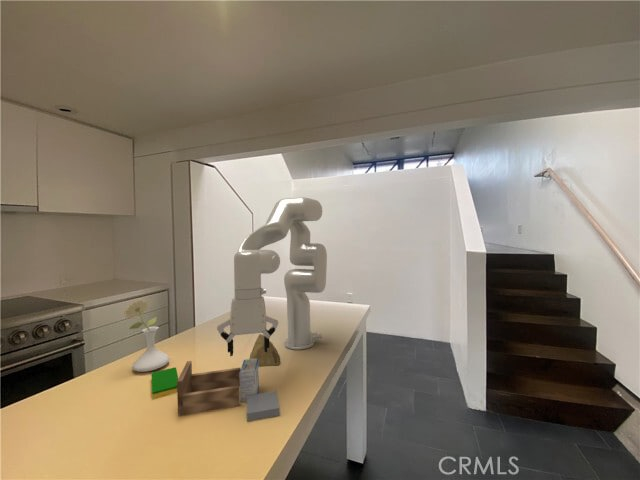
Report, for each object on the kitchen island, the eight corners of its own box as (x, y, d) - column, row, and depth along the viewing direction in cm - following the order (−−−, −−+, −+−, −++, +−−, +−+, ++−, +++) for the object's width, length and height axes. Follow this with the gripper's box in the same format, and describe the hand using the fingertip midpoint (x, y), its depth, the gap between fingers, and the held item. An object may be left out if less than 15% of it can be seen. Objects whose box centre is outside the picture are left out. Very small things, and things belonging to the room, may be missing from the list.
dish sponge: (176, 373, 94) (175, 366, 94) (179, 393, 82) (179, 385, 82) (151, 379, 90) (151, 372, 90) (152, 401, 78) (151, 392, 78)
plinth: (276, 397, 78) (276, 390, 78) (279, 415, 70) (279, 407, 70) (247, 402, 76) (247, 395, 76) (247, 421, 68) (246, 413, 68)
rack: (240, 383, 86) (240, 354, 86) (239, 405, 74) (238, 372, 74) (188, 391, 82) (187, 361, 82) (178, 416, 71) (176, 381, 70)
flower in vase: (164, 357, 106) (162, 292, 105) (174, 366, 98) (171, 296, 97) (123, 369, 97) (120, 298, 96) (130, 381, 89) (127, 304, 88)
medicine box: (256, 401, 76) (255, 370, 76) (240, 402, 76) (239, 371, 76) (259, 385, 84) (258, 357, 84) (244, 387, 84) (243, 359, 83)
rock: (288, 354, 101) (269, 344, 107) (279, 341, 96) (260, 331, 102) (269, 381, 94) (250, 369, 100) (259, 368, 90) (240, 357, 95)
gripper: (276, 289, 86) (277, 344, 86) (218, 293, 82) (219, 350, 82) (279, 294, 79) (280, 354, 79) (214, 298, 74) (216, 361, 74)
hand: (249, 352), depth 80 cm, fingers open, 9 cm apart
